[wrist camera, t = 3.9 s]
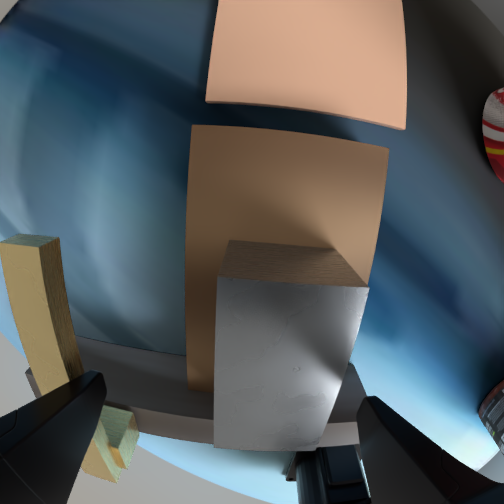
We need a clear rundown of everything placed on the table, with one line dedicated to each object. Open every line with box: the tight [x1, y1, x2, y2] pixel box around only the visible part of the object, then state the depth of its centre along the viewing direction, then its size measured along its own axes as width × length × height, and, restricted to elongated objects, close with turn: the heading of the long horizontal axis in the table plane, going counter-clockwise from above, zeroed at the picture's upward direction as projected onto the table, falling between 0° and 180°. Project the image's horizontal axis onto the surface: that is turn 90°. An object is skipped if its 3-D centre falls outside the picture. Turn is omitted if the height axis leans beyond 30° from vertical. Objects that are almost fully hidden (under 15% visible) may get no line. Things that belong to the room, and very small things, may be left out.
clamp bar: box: [0, 234, 139, 483], centre depth 9 cm, size 12×2×4 cm, turn 175°
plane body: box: [25, 125, 389, 447], centre depth 13 cm, size 15×20×5 cm
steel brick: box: [214, 240, 369, 451], centre depth 11 cm, size 8×4×4 cm, turn 175°
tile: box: [205, 0, 407, 130], centre depth 11 cm, size 10×10×1 cm
